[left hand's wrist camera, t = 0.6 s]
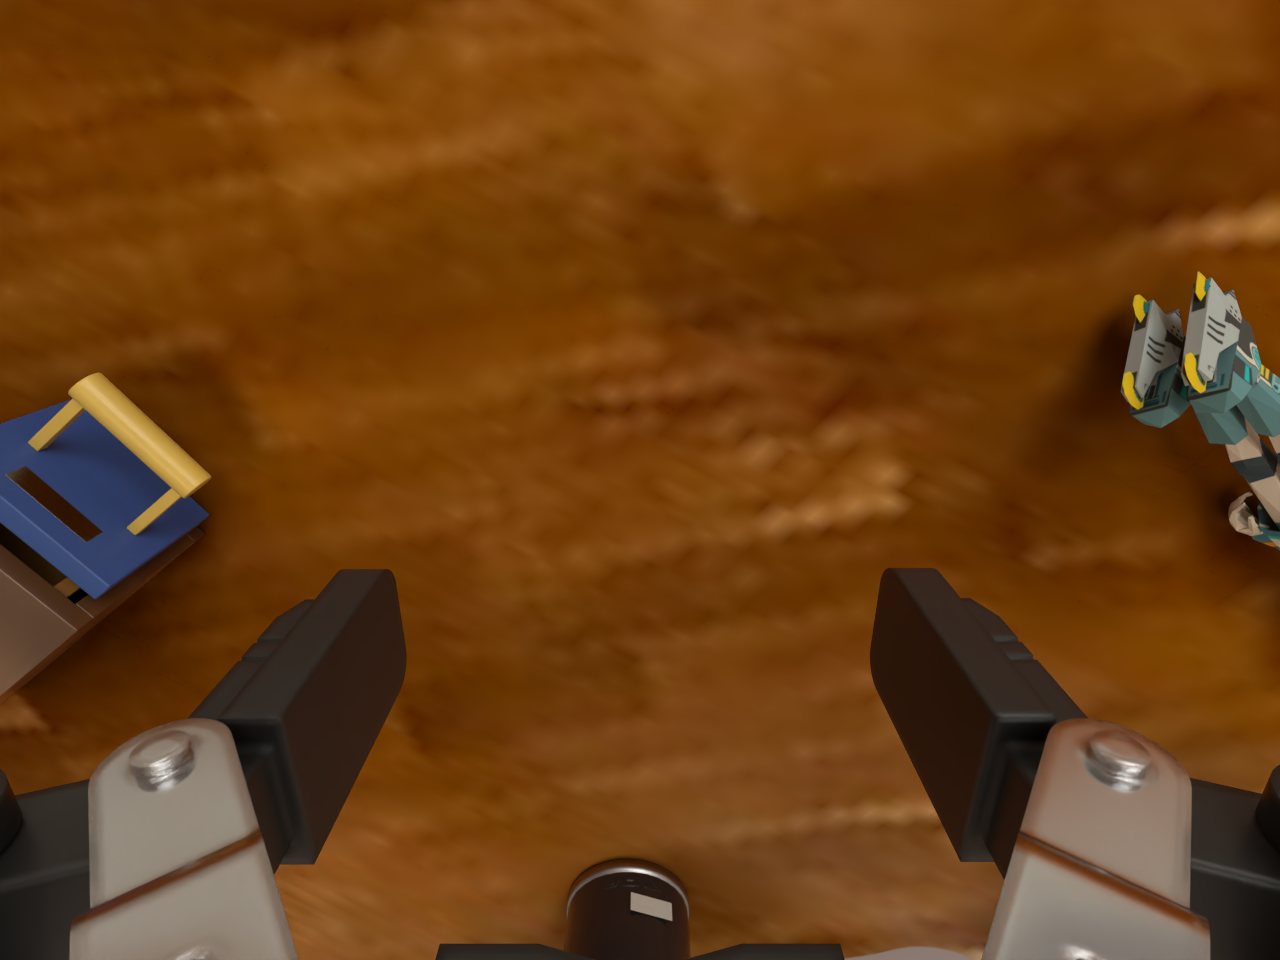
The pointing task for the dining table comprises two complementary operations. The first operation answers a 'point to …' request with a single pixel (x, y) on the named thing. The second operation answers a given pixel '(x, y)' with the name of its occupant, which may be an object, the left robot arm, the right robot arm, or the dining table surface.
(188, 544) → the cabinet
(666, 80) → the dining table surface
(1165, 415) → the figurine
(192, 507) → the drawer
